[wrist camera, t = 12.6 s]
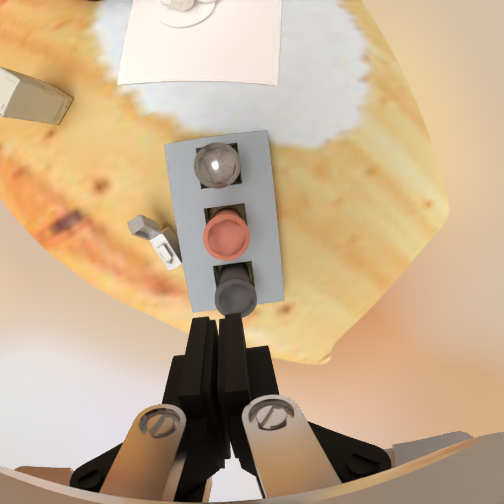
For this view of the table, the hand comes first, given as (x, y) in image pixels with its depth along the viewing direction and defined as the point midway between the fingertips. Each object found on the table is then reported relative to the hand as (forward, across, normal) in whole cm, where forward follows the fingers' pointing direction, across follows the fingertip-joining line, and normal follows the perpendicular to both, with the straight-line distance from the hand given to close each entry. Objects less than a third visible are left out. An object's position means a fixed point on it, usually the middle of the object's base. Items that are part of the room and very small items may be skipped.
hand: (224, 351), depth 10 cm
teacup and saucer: (+27, 0, -28) cm, 39 cm away
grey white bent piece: (+27, +8, +1) cm, 28 cm away
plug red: (+25, 0, 0) cm, 25 cm away
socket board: (+27, 0, 0) cm, 27 cm away
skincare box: (+27, +22, -20) cm, 40 cm away
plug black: (+26, 0, +6) cm, 27 cm away
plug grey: (+26, 0, -6) cm, 27 cm away
